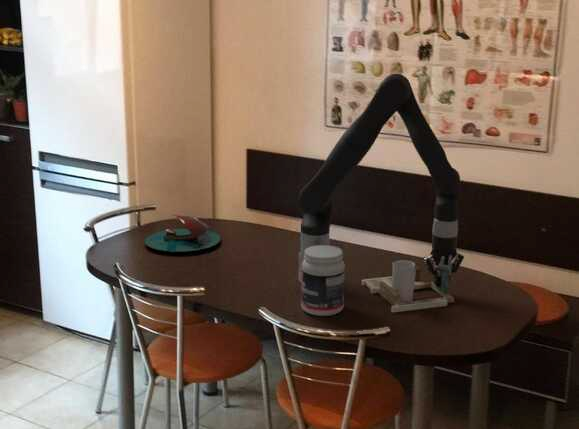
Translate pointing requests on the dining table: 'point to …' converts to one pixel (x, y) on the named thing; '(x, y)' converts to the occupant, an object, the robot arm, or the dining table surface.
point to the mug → (403, 279)
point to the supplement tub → (322, 280)
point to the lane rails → (408, 306)
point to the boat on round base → (184, 237)
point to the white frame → (442, 290)
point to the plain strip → (390, 280)
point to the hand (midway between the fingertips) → (441, 285)
